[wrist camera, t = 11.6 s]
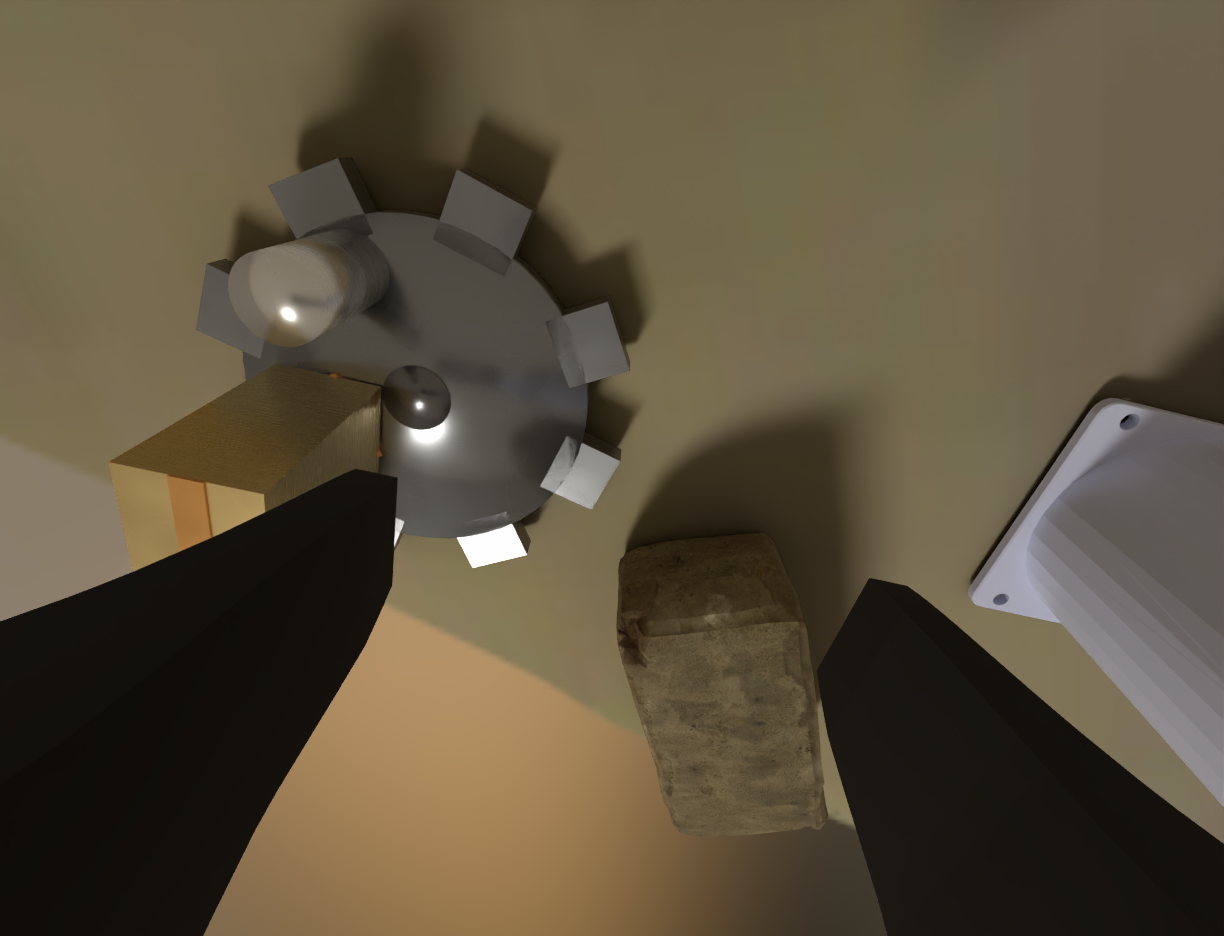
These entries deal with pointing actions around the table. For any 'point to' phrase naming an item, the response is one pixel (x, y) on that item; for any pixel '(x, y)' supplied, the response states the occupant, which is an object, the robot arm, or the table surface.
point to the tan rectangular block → (243, 457)
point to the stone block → (723, 684)
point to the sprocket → (432, 348)
